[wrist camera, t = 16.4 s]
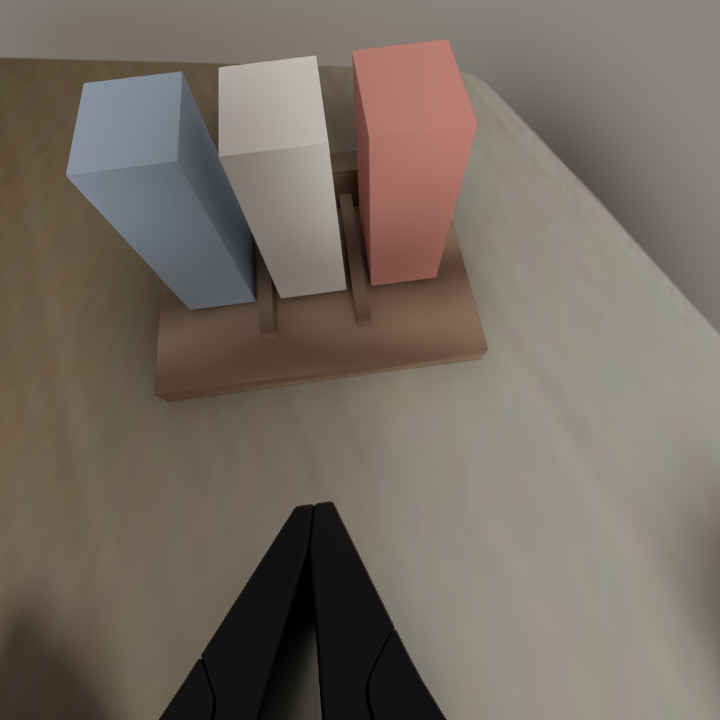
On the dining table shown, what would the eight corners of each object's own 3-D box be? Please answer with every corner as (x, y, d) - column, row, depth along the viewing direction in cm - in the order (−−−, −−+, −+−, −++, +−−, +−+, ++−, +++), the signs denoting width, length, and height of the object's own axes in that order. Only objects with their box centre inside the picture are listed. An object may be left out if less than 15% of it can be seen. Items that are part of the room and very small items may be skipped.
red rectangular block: (435, 277, 23) (477, 123, 14) (371, 286, 23) (369, 137, 14) (420, 213, 25) (448, 39, 16) (360, 221, 25) (351, 50, 16)
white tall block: (346, 289, 23) (328, 143, 14) (280, 298, 23) (218, 156, 14) (337, 224, 25) (316, 55, 16) (276, 232, 25) (218, 67, 16)
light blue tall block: (256, 301, 23) (177, 161, 14) (189, 309, 23) (65, 175, 14) (253, 234, 25) (182, 71, 16) (192, 242, 25) (83, 83, 16)
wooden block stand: (480, 358, 23) (504, 325, 19) (167, 401, 23) (121, 377, 19) (436, 194, 28) (447, 139, 24) (176, 228, 28) (141, 178, 23)
